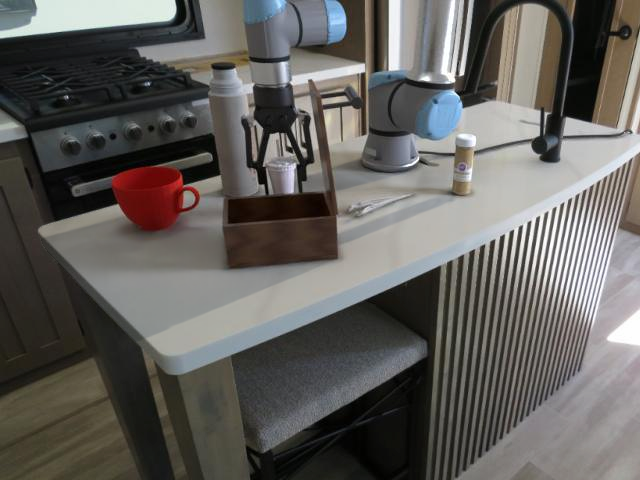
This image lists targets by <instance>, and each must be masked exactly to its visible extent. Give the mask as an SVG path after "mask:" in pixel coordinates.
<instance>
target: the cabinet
mask: <svg viewBox="0 0 640 480" xmlns="http://www.w3.org/2000/svg"><path fill="white" fill-rule="evenodd" d="M222 200H223V201H222V223H221V227H222V234H223V241H224V247H225V253H226V259H227V265H228V269H238V268H239V269H243V268H251V267H262V266H272V265H283V264H293V263H295V264H296V263H305V262H317V261H326V260H336V259H339V247H338V243H339V242H338V241H339V240H338V219H337V215H334V213H333V210H332V207H331V204H330V201H329V199H328V196H327V193H326V190H319V191H318V190H317V191H305V192H304V191H303V192H302V193H299V192H295V193H287V194H274V193H273V194H269V195H265V194H261V195H250V196H243V197H230V196H228V197H223V199H222Z"/></svg>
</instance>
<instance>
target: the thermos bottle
mask: <svg viewBox="0 0 640 480" xmlns="http://www.w3.org/2000/svg"><path fill="white" fill-rule="evenodd" d="M210 68H211V69H212V78H211V79H210V80H209V85H208V86H209V88H210V90H209V91H208V92H207V95H208V103H209V109H210V116H211V122H212V129H213V134H214V135H213V136H214V141H215V148H216V153H217V159H218V168H219V174H220V175H219V176H220V180H221V188H222V193H223V195H225V196H227V197H243V196H254V195H255V194H256V193H258V191H259V183H258V177H257V171H256V170H255V169H253V168H248V167H247V162H246V144H245V131H244V128H243V126H242V124H241V117H242V116H249V115H250V108H249V100H248V92H247V90H246V89H244V87H243V86H244V83H243V80H242V79H241V78H240V77H238V74H237V73H238V72H237V69H236V63H235V62H232V61H231V62H230V61H217V62H213V63H211V64H210ZM251 139H252V158H253V160H254V161H256V160H255V159H256V158H255V151H254V142H253V134H252V132H251Z"/></svg>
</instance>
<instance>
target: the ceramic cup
mask: <svg viewBox="0 0 640 480" xmlns="http://www.w3.org/2000/svg"><path fill="white" fill-rule="evenodd" d="M110 185H111V189H112V191H113V194H114V198H115V200H116V202H117V205H118V206H119V209H120V211H121V212H122V213H123V214H124V216H125V217H126V218H127V219H128V220H129V221H130V222H132V223H133V224H134V225H136V226H137V227H139V228H140V229H141V230H143V231H147V232H156V231H162V230H166V229H169V228H170V227H173V225H174V224H175V222H176V221H177V219H178V218H179V216H180V214H183V213H186V212H190V211H192V210H194V209H195V208H196V207H197V206H198V205H199V202H200V200H201V194H200V192H199V191H198V189H197V188H196V187H193V186H189V185H188V186H184V181H183V175H182V173H181V171H180V170H178V169H176V168H172V167H169V166H143V167H137V168H136V167H135V168H132V169H129V170H125V171H123V172H122V171H121V172H120V173H117V174H116V175H115V176H113V178H112V179H111V181H110ZM186 191H187V192H191V193H192V194H193V195H194V202H193V204H191V205H190V206H187V207H184V202H185V201H184V199H185V197H184V196H185V192H186Z"/></svg>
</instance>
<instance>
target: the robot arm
mask: <svg viewBox="0 0 640 480" xmlns="http://www.w3.org/2000/svg"><path fill="white" fill-rule="evenodd" d="M241 2H242V17H243V18H242V21H243V25H244V32H245V39H246V45H247V52H248V63H249V71H250V79H251V80H250V81H251V82H252V83H253V85H252V96H253V102H254V110H253V113H252V114H249V116H242V117H241V124H242V126H243V128H244V131H245V144H246V162H247V167H248V168H253V169H255V170H256V175H257V183H258V186H263V187H264V193H265V194H264V195H270V189H269V182H268V181H269V180H268V173H267V168H266V165H265V166H264V163H265V158H266V154H267V150H268V145H269V140H270V137H271V135H275V134H285V135H286V136H287V139H288V142H289V144H290V146H291V148H292V150H293V152H294V155H295V157H296V160H297V162H298V163H297V167H296V169H295V171H296V178H297V189H298V190H297V191H298V192H297V193H302V192H304V189H303V182H307V181H308V173H307V171H308V170H307V166H309V165H314V164H315V163H316V161H315V155H314V148H313V141H312V136H311V128H310V126H311V122H312V117H311V115H310V113H309V112H307V111H306V112H300V111H298V110H297V109H296V107H295V98H294V97H295V96H294V87H293V86H294V85H292V83H291V82H292V81H293V75H292V64H291V63H292V62H291V48H297V47H305V46H306V47H307V46H317V45H330V44H334V43H339V42H341V41H342V40H343V38H344V37H345V35H346V32H347V16H346V12H345V9H344V7H343V5H342V4H341V3H340V2H339V1H338V0H242V1H241ZM459 5H460V0H418V9H417V18H416V19H417V20H416V30H415V40H414V41H415V42H414V51H413V63H412V68H411V69H409V70H408V69H399V70H398V69H396V70H395V69H394V70H384V71H383V70H381V71H377V72H373V73H371V74H370V76H369V77H368V85H367V96H368V97H367V98H368V100H367V102H368V103H367V104H368V135H367V137H366V141H365V143H364V147H363V150H362V153H361V163H362V166H364V167H366V168H368V169H370V170H373V171H376V172H383V173H400V172H407V171H411V170H413V169H416V168H417V167H419V164H420V155H432V156H433V155H435V156H445V157H447V156H448V157H449V156H450V157H451V156H454V157H455V152H439V151H429V150H418V146H417V143H416V139H415V136H417V137H419V138H420V139H423V140H428V141H429V140H430V141H435V142H436V141H441V140H444V139H445V138H447V137H448V136H450V135H451V134H452V132H454V131H455V129H456V128H457V126H458V124H459V123H460V121H461V119H462V114H463V101H462V100H461V98H460V95H458V94H457V92H455V89H456V81H457V80H456V78H455V77H454V75H453V74H452V73H451V67H452V61H453V52H454V46H455V37H456V29H457V22H458V14H459ZM297 119H298V122H299V124H300V125H301V127H302V132H303V138H304V145H305V150H306V156H304V155H303V152H302V149H301V148H300V146H299V143H298V141H297V138H296V136H295V134H294V132H293V130H292V127H293V125H294V123H295V122H296V120H297ZM255 121H256V123H257V124H258V125H259V126H260V128H261V129H262V132H261V138H260V143H259V148H258V152H257V157H256V160H255V161H254V160H253V158H252V141H253V138H252V139H251V133H252V128H253V127H254V122H255ZM624 132H626V133H629V134H634V132H633V131H632V129H630V128H627V129H625V130H623V131H622V132H620V133H613V134H612V133H611V134H574V135H573V134H572V135H570V134H569V135H562V136H563V138H562V139H577V138H578V139H581V138H614V137H615V138H617V137H621V136H623V135H625V134H626V133H624ZM534 138H535V137H534ZM534 138H527V139H520V140H514V141H510V142H505V143H499V144H496V145H492V146H488V147H484V148H481V149H477V150H474V155H475V154H480V153H483V152H488V151H490V150H495V149H499V148H503V147H508V146H513V145H517V144H523V143H529V142H533V141H532V140H533V139H534Z"/></svg>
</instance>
